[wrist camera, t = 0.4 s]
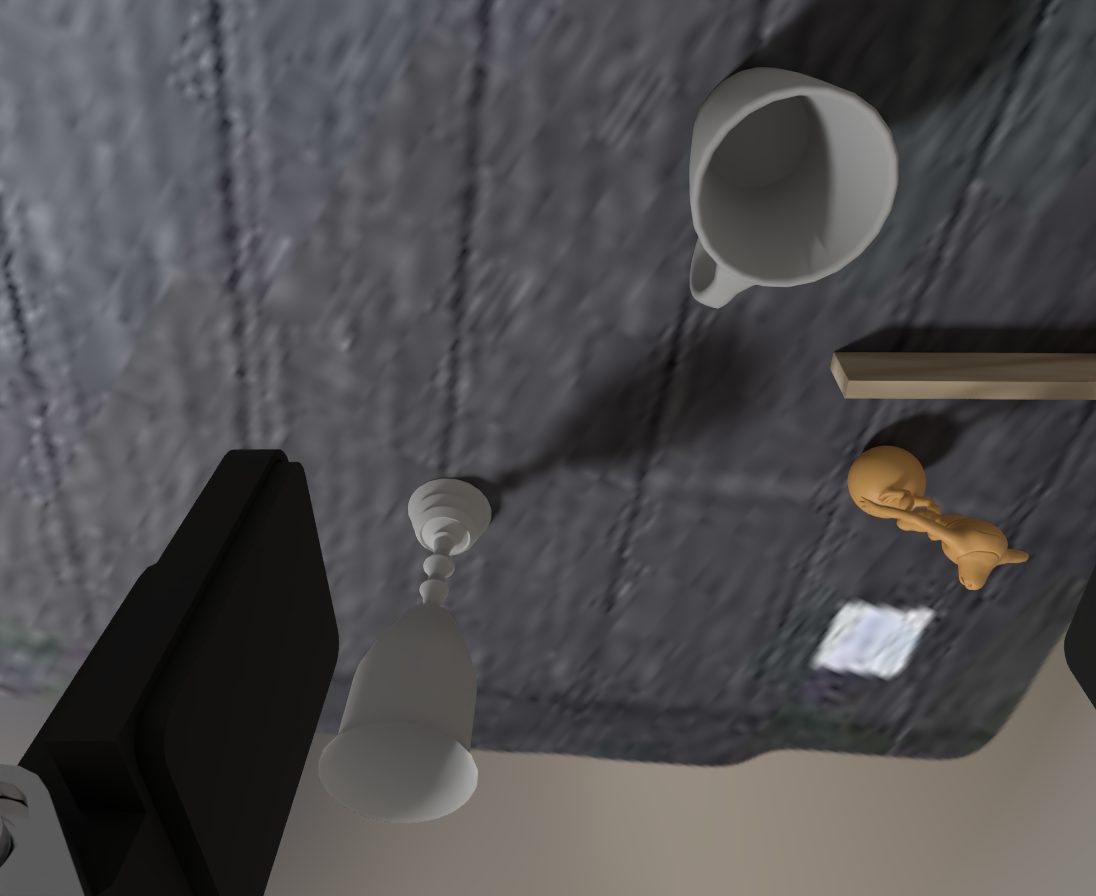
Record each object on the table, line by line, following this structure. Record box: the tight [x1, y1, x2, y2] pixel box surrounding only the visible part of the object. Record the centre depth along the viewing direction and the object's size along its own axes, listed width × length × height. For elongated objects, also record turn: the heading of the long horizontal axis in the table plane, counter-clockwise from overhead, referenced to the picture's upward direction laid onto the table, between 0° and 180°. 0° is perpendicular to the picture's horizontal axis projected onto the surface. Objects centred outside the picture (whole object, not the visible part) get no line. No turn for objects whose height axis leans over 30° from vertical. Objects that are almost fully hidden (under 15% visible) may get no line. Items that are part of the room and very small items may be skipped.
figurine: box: [848, 446, 1028, 590], centre depth 43 cm, size 8×6×12 cm
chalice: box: [318, 478, 491, 823], centre depth 44 cm, size 7×7×18 cm
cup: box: [689, 67, 899, 308], centre depth 36 cm, size 8×10×8 cm
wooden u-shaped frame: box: [830, 352, 1096, 400], centre depth 38 cm, size 22×15×3 cm
